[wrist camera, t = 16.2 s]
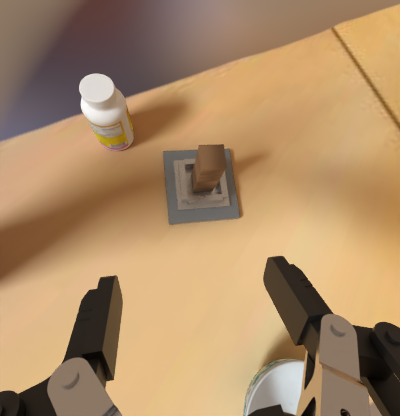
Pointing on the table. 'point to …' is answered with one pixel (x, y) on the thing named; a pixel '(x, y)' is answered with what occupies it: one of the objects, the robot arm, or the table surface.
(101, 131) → the supplement bottle
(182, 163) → the open square frame
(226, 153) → the coaster
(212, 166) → the brown wooden block
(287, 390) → the chinaware
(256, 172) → the table surface
